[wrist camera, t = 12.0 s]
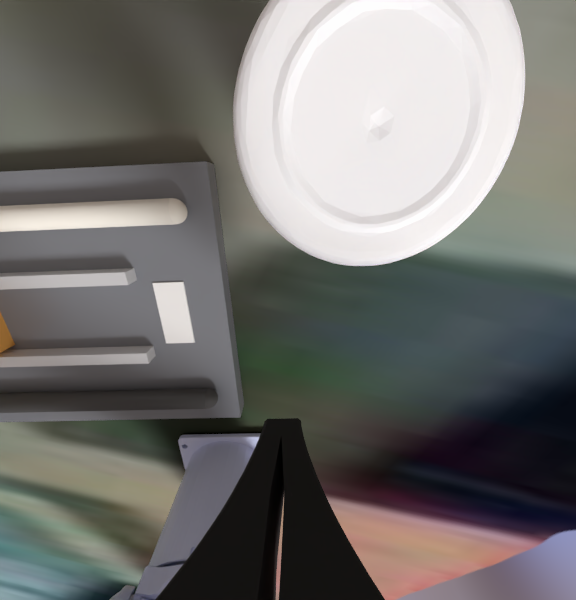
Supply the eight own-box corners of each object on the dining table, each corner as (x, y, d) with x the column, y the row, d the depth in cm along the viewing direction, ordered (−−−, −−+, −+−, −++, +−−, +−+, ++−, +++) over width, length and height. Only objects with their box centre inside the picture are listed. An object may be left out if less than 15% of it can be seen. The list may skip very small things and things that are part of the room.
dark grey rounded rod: (221, 399, 21) (216, 412, 20) (-49, 405, 22) (-71, 418, 20) (218, 384, 20) (213, 397, 19) (-58, 390, 21) (-81, 403, 20)
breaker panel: (243, 403, 23) (238, 427, 21) (-33, 409, 24) (-69, 433, 21) (214, 164, 16) (200, 159, 14) (-164, 183, 17) (-236, 181, 15)
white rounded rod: (192, 222, 16) (184, 225, 15) (-150, 237, 17) (-187, 240, 16) (188, 197, 16) (179, 197, 14) (-164, 213, 16) (-204, 215, 15)
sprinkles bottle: (279, 218, 18) (242, 277, 5) (274, 136, 16) (202, -84, 3) (351, 215, 17) (503, 266, 5) (353, 132, 16) (593, -120, 3)
